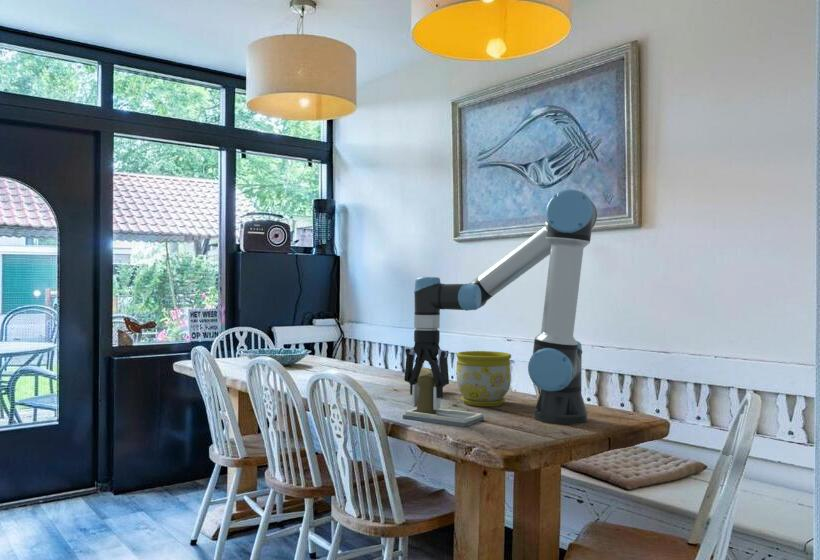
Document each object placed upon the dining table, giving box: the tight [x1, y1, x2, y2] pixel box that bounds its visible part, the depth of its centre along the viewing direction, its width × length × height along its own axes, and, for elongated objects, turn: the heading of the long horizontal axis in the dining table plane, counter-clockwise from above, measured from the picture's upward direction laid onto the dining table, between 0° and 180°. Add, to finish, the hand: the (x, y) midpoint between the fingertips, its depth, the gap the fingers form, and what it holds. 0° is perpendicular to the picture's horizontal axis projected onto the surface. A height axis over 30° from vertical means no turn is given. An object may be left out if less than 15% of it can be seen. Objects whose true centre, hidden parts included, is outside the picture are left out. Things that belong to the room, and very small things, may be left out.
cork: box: [416, 375, 436, 414], centre depth 188 cm, size 6×6×11 cm
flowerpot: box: [456, 350, 512, 408], centre depth 212 cm, size 18×18×16 cm
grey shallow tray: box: [402, 407, 484, 428], centre depth 185 cm, size 20×12×2 cm, turn 57°
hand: (426, 407), depth 188 cm, fingers open, 7 cm apart
